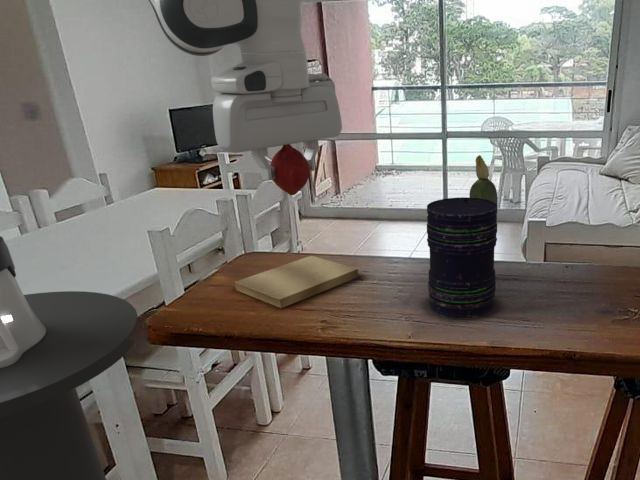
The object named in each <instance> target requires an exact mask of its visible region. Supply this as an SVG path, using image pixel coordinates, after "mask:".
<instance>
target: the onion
mask: <svg viewBox="0 0 640 480" xmlns="http://www.w3.org/2000/svg"><path fill="white" fill-rule="evenodd" d="M269 164H270V166H274V167H276V174H277V178H276V179H272V181H273V183H274V184H275V185H276V186H277V187H278V188H279V189H280V190H281V191H284V192H285V193H286V194H288V195H289V196H295V195H297V194H298V193H299V191H301V190H302V189H304V187H305V186H306V185H307V183H308V180H309V178H310V174H311V172H310V168H309V164H308V161H307V160H306V158H305V157H304V154H303V153H302V152H301V151H300V150H298V149H296V148H294V147H293V146H292V144H288V145H282V146H281V148H280V149H279V150H278V151H277V152H276V153H275V154H274V155H273V157H272V158H271V161H270V163H269Z"/></svg>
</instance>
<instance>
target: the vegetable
mask: <svg viewBox="0 0 640 480" xmlns="http://www.w3.org/2000/svg"><path fill="white" fill-rule="evenodd" d="M475 174H476V178H477V180H475V181H474V182H473V184H472V185H471V187H470V190H469V198H480V199H486V200H490V201H493V202H495V203H496V204H497V207H498V201H499V200H498V191H497V187H496V185H495V183H494V182H492V181H491V180H490V179H489V177H490V171H489V167H488V165H487V164H486V161H485V160H484V158H483V157H482V155H480V154H479V155H477V156H476V157H475ZM496 215H497V216H498V212H497V213H496Z"/></svg>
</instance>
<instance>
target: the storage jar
mask: <svg viewBox="0 0 640 480" xmlns="http://www.w3.org/2000/svg"><path fill="white" fill-rule="evenodd" d="M496 213H497V215H496ZM426 214H427V216H426V234H427V238H426V242H427V246H428V248H429V270H428V282H427V290H428V297H429V302H428V303H429V304H428V305H429V307H428V308H429V309H430V311H431V312H432V313H433V314H435V315H437V316H440V317H443V318H447V319H451V320H453V319H454V320H470V319H471V320H472V319H477V318H482V317H484V316H487V315H489V314H490V313H491V312H493V311H494V309H495V300H494V299H495V297H496V291H497V285H496V284H497V282H496V270H495V248H496V246H497V241H498V237H497V234H498V206H497V204H496V203H495V202H493V201H490V200H486V199H480V198H470V197H466V196H465V197H463V196H462V197H448V198H442V199H437V200H434V201H431V202H429V203H428V204H427V205H426Z"/></svg>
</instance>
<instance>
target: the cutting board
mask: <svg viewBox="0 0 640 480" xmlns="http://www.w3.org/2000/svg"><path fill="white" fill-rule="evenodd" d="M357 278H359V269H358V268H356V267H352V266H349V265H345V264H343V263H339V262H335V261H332V260H328V259H325V258H321V257H319V256H315V255H308V256H306V257H303V258H301V259H297V260H294V261H291V262H288V263H286V264H283V265H280V266H276V267H274V268H271V269H267V270H265V271H262V272H259V273H256V274H254V275H251V276H248V277H244V278H242V279H238V280H237V281H234V286H235V290H236V291H237V292H239V293H242V294H245V295H247V296H250V297H251V298H254V299H257V300H260V301H262V302H265V303H266V304H270V305H271V306H274V307H277V308H280V309H283V308H287V307H288V306H291V305H294V304H296V303H299V302H301V301H303V300H305V299H308V298H311V297H313V296H316V295H318V294H320V293H323V292H325V291H327V290H330V289H333V288H335V287H337V286H340V285H342V284H346V283H348V282H350V281H352V280H354V279H357Z"/></svg>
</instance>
